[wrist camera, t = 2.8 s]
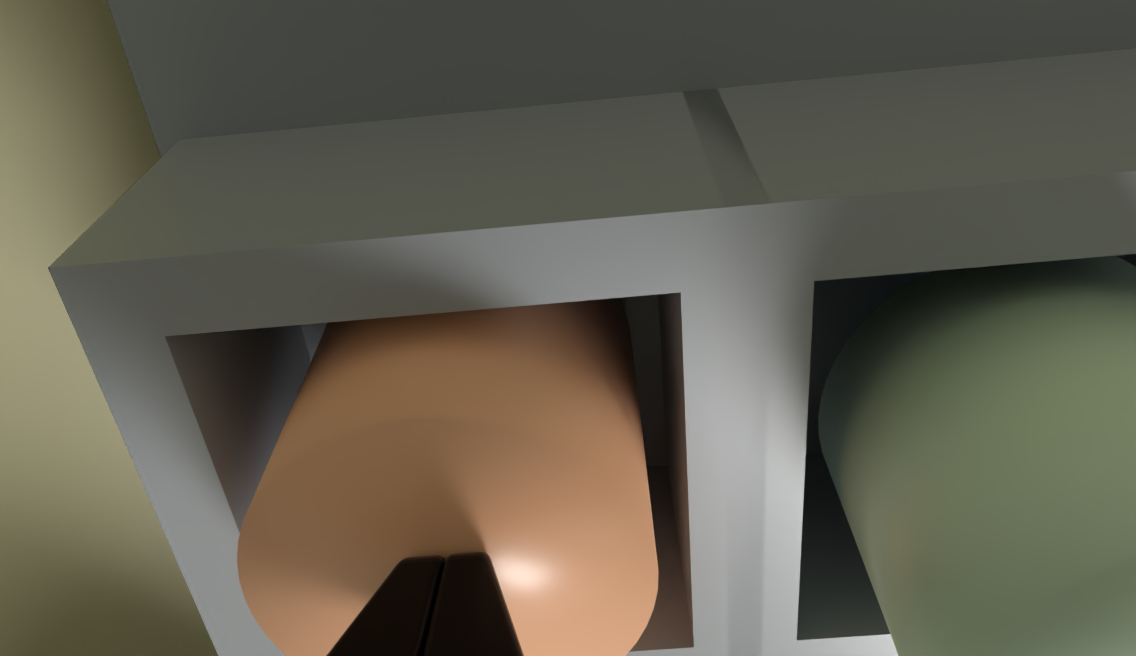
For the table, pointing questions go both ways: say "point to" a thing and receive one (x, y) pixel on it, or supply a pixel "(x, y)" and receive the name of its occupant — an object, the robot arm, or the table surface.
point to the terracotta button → (462, 475)
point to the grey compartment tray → (589, 238)
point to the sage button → (994, 458)
